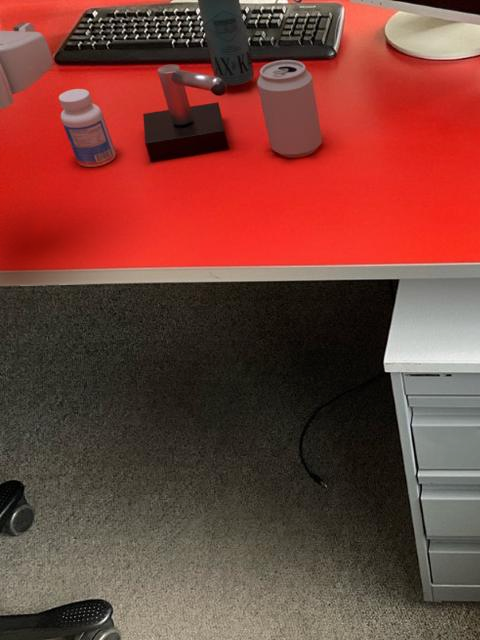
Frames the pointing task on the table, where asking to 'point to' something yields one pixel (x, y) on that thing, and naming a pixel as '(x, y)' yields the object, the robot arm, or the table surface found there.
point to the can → (289, 108)
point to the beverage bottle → (227, 40)
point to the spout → (176, 93)
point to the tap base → (185, 133)
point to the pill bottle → (86, 129)
